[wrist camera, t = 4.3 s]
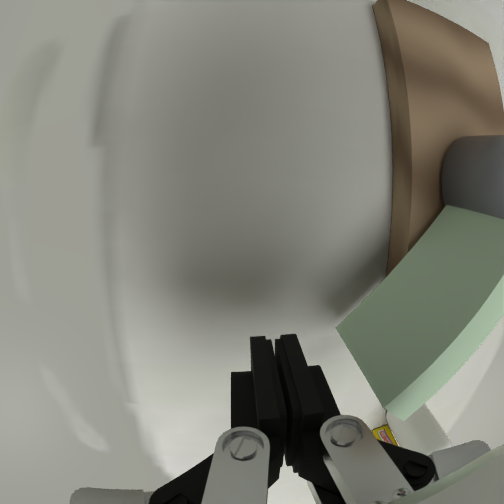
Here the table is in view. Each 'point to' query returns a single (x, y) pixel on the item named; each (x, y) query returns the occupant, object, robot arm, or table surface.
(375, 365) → the grey and green piece
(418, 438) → the eye dropper bottle
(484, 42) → the post base
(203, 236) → the table surface
